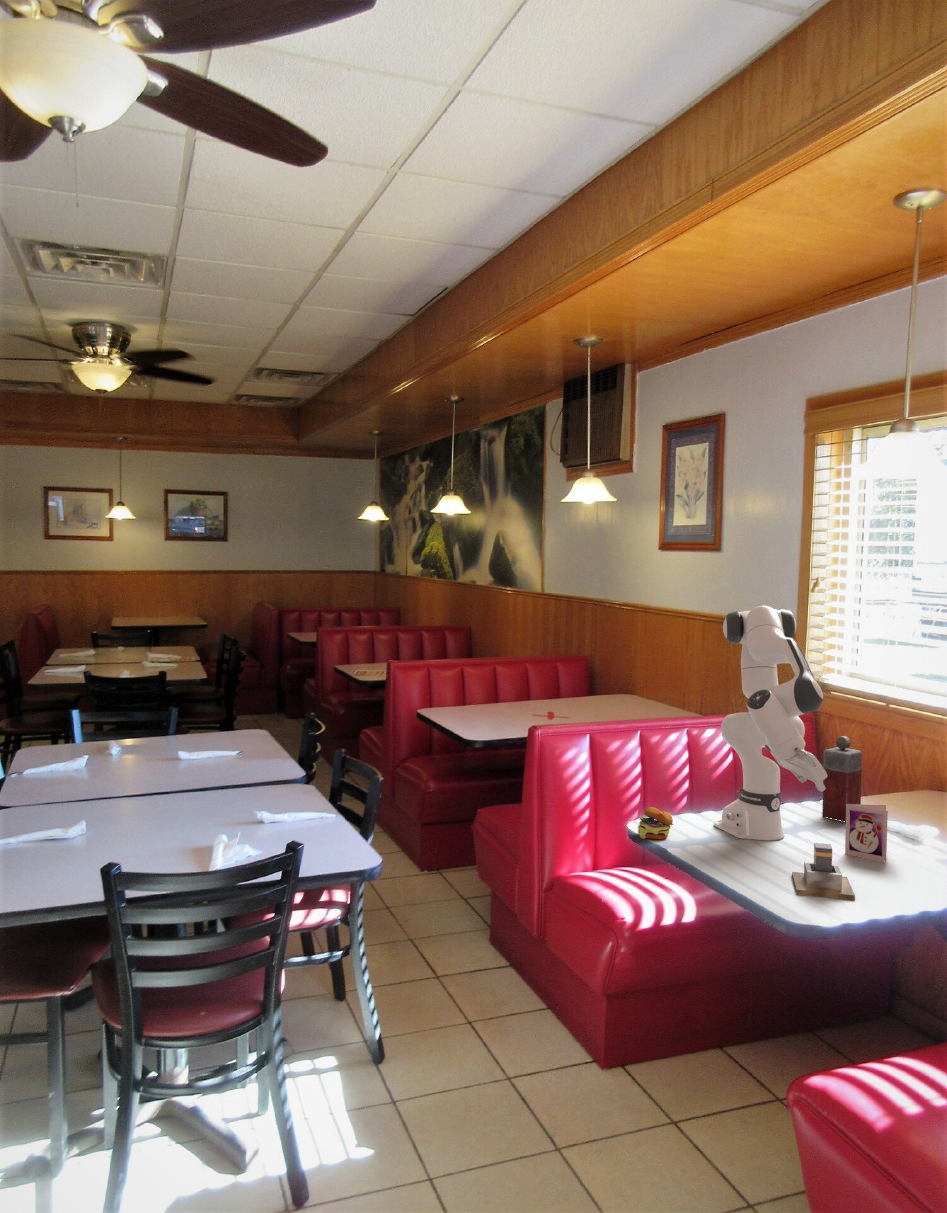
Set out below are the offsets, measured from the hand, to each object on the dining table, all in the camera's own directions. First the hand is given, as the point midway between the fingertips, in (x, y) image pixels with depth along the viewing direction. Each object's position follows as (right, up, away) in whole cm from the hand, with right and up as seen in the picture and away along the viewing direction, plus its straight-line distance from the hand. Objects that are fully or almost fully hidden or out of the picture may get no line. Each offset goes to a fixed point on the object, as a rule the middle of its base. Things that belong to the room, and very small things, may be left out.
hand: (812, 785), depth 238 cm
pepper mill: (+34, -23, +59) cm, 72 cm away
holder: (0, -26, -7) cm, 27 cm away
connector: (0, -24, -7) cm, 25 cm away
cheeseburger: (-36, -24, +37) cm, 57 cm away
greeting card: (+24, -25, +19) cm, 40 cm away
